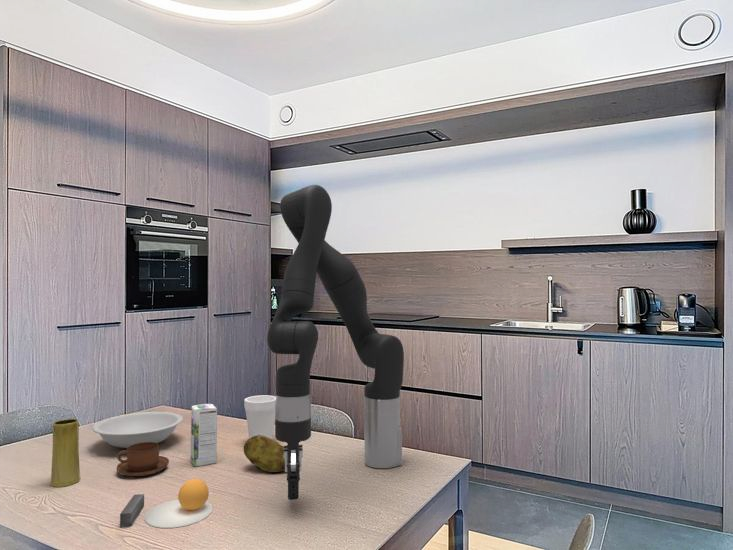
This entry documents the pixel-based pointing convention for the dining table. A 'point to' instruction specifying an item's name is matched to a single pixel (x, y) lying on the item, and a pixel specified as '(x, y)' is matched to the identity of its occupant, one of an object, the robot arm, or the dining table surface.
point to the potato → (265, 453)
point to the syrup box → (203, 434)
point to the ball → (193, 494)
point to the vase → (65, 453)
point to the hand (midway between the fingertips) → (293, 498)
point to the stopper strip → (131, 510)
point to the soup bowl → (137, 428)
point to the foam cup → (260, 415)
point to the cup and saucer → (142, 460)
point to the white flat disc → (176, 515)
